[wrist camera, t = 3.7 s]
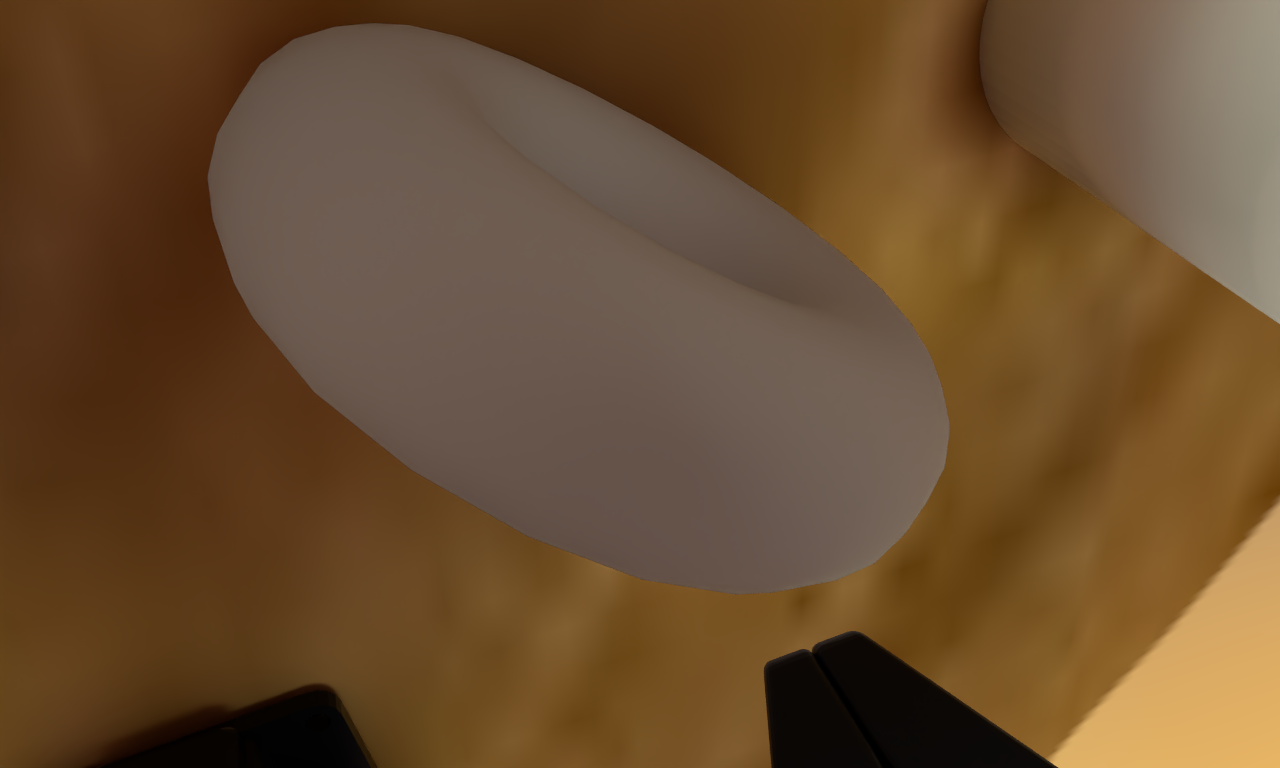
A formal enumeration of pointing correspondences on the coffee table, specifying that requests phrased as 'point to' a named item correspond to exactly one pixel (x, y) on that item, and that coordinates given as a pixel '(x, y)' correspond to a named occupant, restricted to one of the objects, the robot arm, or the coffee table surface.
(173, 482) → the coffee table surface
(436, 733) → the coffee table surface
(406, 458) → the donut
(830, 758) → the robot arm
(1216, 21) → the white rounded cylinder
